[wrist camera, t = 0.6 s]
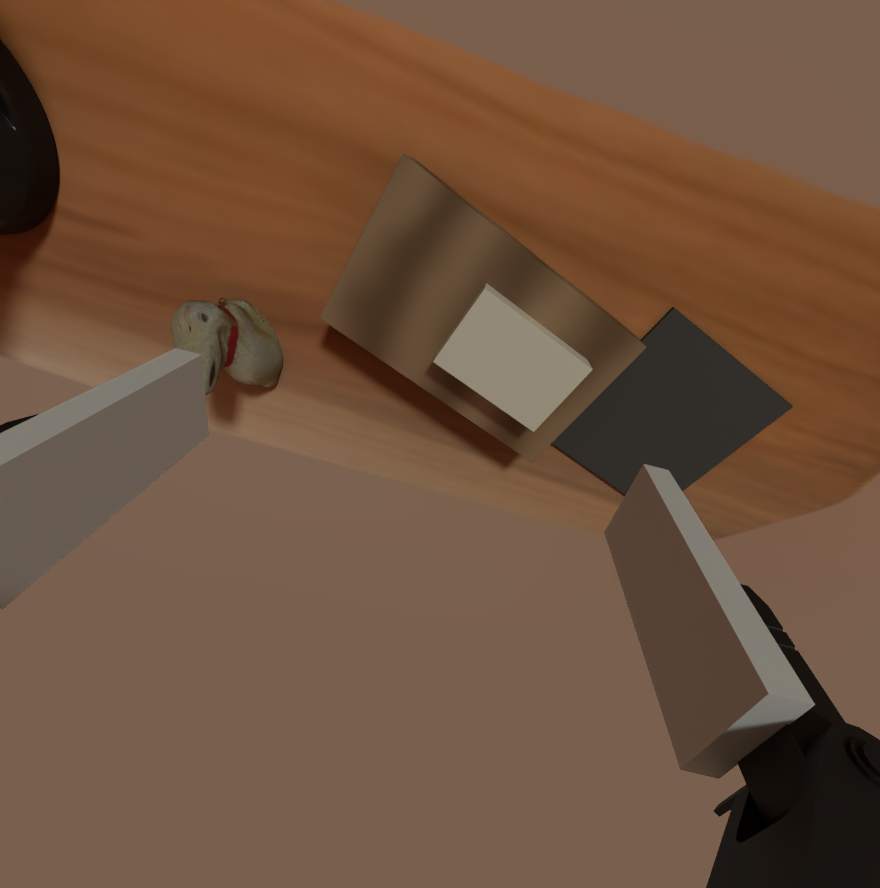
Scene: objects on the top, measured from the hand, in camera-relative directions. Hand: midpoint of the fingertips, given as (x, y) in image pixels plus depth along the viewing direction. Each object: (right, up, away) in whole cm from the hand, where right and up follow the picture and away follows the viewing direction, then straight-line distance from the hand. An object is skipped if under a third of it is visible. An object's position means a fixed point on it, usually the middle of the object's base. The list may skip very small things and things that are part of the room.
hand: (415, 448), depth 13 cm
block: (+6, +6, +18) cm, 20 cm away
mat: (+19, +2, +23) cm, 30 cm away
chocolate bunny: (-16, +9, +25) cm, 31 cm away
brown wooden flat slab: (+4, +10, +21) cm, 24 cm away
